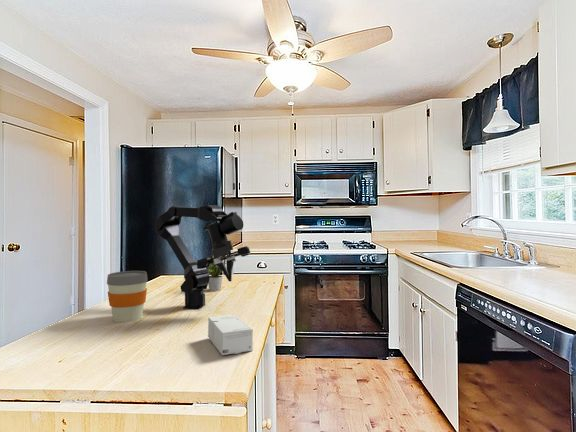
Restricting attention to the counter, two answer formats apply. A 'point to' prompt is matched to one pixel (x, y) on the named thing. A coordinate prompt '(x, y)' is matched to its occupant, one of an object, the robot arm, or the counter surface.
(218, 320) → the skincare box
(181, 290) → the robot arm
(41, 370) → the counter surface
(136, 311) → the reusable coffee cup
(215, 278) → the house plant
